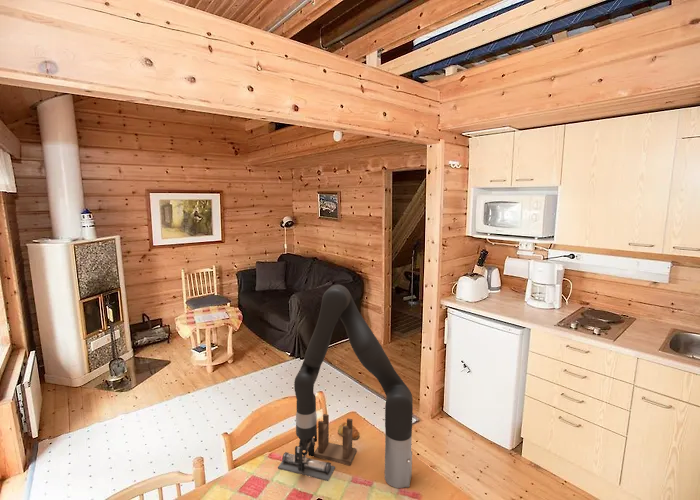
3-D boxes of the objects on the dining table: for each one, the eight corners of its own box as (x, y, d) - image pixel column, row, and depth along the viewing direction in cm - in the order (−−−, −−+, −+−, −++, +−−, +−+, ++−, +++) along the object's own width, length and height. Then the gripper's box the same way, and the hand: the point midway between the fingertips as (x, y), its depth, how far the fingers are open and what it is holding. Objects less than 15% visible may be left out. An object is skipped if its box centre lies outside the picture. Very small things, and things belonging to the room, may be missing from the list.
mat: (335, 467, 132) (335, 466, 131) (328, 481, 125) (328, 479, 125) (286, 456, 138) (286, 454, 138) (277, 468, 131) (277, 467, 131)
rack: (356, 451, 140) (356, 418, 139) (350, 465, 133) (350, 430, 131) (321, 444, 145) (321, 411, 144) (313, 456, 137) (313, 422, 136)
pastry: (362, 435, 151) (363, 427, 151) (353, 443, 146) (353, 434, 146) (345, 427, 157) (346, 419, 157) (335, 434, 152) (335, 426, 152)
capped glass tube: (331, 469, 130) (331, 460, 130) (327, 475, 127) (327, 466, 126) (286, 458, 136) (286, 450, 135) (282, 464, 132) (282, 455, 132)
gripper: (307, 434, 122) (307, 478, 123) (323, 413, 135) (323, 452, 137) (287, 430, 124) (288, 473, 125) (305, 409, 137) (305, 448, 139)
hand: (306, 462), depth 131 cm, fingers open, 8 cm apart
